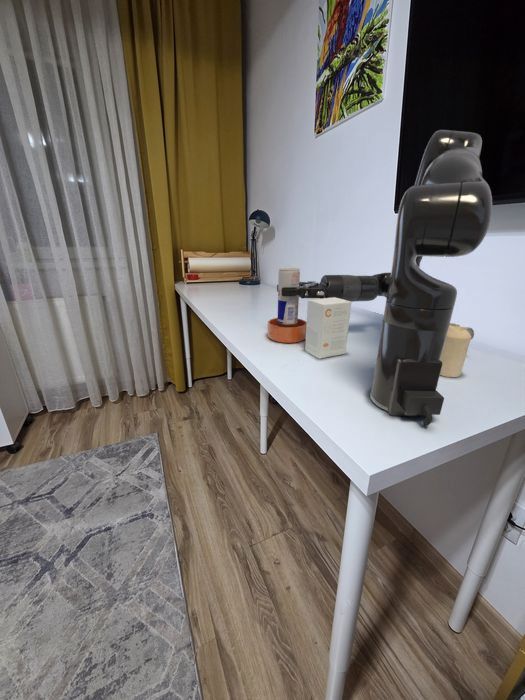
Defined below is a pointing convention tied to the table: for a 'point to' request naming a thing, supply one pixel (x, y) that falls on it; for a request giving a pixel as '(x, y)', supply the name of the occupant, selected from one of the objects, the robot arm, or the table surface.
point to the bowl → (287, 331)
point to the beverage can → (288, 303)
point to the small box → (327, 326)
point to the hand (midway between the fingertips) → (279, 290)
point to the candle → (454, 351)
